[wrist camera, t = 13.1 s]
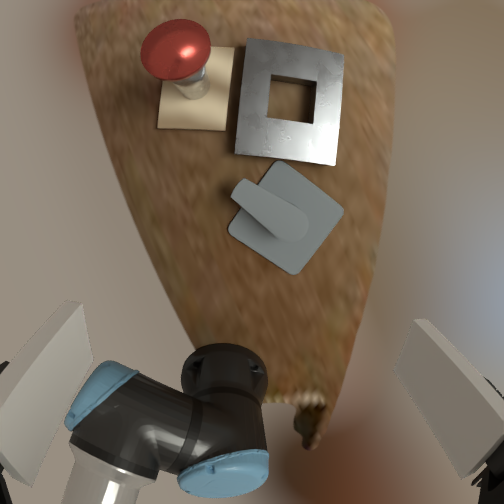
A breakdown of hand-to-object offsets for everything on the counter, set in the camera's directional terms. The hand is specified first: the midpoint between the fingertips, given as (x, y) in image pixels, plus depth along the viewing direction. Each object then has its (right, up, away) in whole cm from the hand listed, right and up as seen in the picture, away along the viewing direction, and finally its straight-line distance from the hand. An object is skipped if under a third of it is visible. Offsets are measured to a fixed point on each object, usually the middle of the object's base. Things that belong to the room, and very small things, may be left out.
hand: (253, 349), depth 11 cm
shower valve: (+4, +9, +31) cm, 33 cm away
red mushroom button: (-7, +25, +23) cm, 35 cm away
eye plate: (+5, +24, +26) cm, 35 cm away
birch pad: (-7, +26, +24) cm, 36 cm away
